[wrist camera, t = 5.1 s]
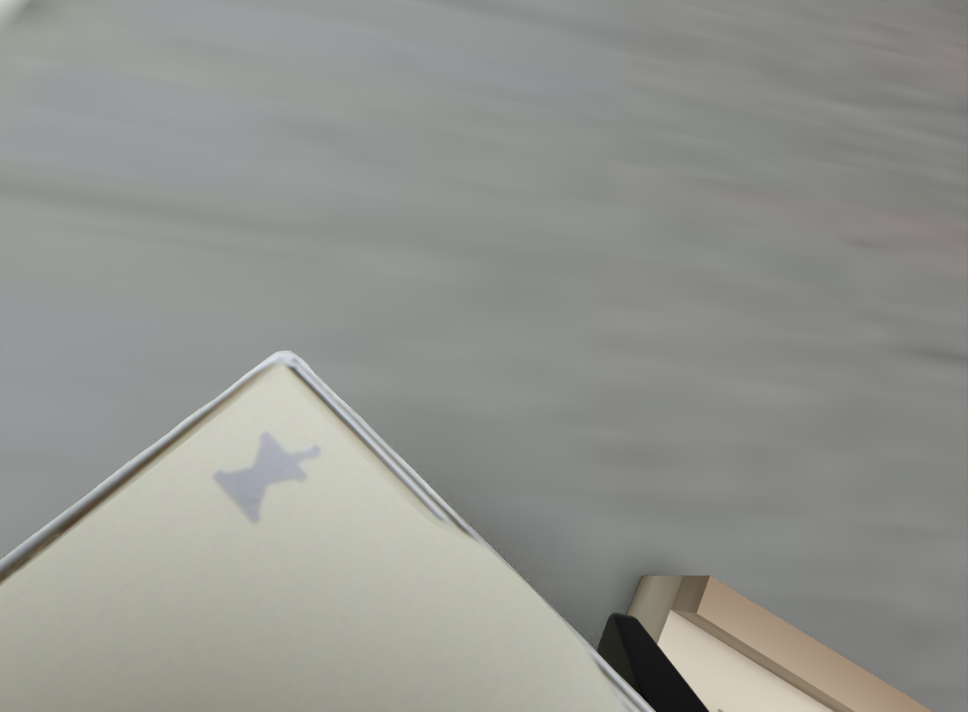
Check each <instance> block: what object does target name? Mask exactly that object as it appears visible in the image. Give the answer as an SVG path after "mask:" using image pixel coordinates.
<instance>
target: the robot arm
mask: <svg viewBox="0 0 968 712" xmlns="http://www.w3.org/2000/svg"><path fill="white" fill-rule="evenodd" d="M597 653H598V654H599V655H600V656H601V657H602V658H603V659H604V660H605V661H606V662H607V663H608V664H609V665H610V666H611V667H612V668H613V669H614V670H615V671H616V672H617V673H618V674H619V675H620V676H621V677H622V678H623V679H624V680H625V681H626V682H627V683H628V684H629V685H630V686H631V687H632V688H633V689H634V690H635V691H636V692H637V693H638V694H639V695H640V696H641V697H642V698H643V699H644V700H645V701H646V702H647V703H648V704H649V705H650V706H651V707H652V708H653V709H654V710H655V711H656V712H710V711H709V710H708V709H707V708H706V706H705V705H704V704H703V702H702V701H701V700H700V699H699V697H698V696H697V695H696V693H695V692H694V691H693V690H692V688H691V687H690V686H689V684H688V683H687V682H686V681H685V679H684V678H683V677H682V675H681V674H680V673H679V672H678V670H677V669H676V668H675V666H674V665H673V664H672V663H671V661H670V660H669V659H668V658H667V656H666V655H665V654H664V652H663V651H662V650H661V649H660V647H659V646H658V645H657V643H656V642H655V641H654V640H653V638H652V637H651V636H650V634H649V633H648V632H647V631H646V629H645V628H644V627H643V625H642V624H641V623H640V622H639V620H638V619H637V618H635V617H634V616H631V615H626V614H620V613H612V614H611V615H610V616H609V618H608V621H607V624H606V626H605V629H604V632H603V634H602V637H601V640H600V643H599V646H598V650H597Z"/></svg>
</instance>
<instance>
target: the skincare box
mask: <svg viewBox="0 0 968 712" xmlns="http://www.w3.org/2000/svg"><path fill="white" fill-rule="evenodd" d="M0 712H656V711H655V710H654V709H653V708H652V707H651V706H650V705H649V704H648V703H647V702H646V701H645V700H644V699H643V698H642V697H641V696H640V695H639V694H638V693H637V692H636V691H635V690H634V689H633V688H632V687H631V686H630V685H629V684H628V683H627V682H626V681H625V680H624V679H623V678H622V677H621V676H620V675H619V674H618V673H617V672H616V671H615V670H614V669H613V668H612V667H611V666H610V665H609V664H608V663H607V662H606V661H605V660H604V659H603V658H602V657H601V656H600V655H599V654H598V653H597V652H596V651H595V650H594V649H593V647H592V646H591V645H590V644H589V643H588V642H587V641H586V640H585V639H584V638H583V637H582V636H581V635H580V634H579V633H578V632H577V631H576V630H575V629H574V628H573V627H572V626H571V625H570V624H569V623H568V622H567V621H566V620H565V619H564V618H563V617H562V616H561V615H560V614H559V613H558V612H557V611H556V610H555V609H554V608H553V607H552V606H551V605H550V604H549V603H548V602H547V601H546V600H545V599H544V598H543V597H542V596H541V595H540V594H539V593H538V592H537V591H536V590H535V589H534V588H533V587H532V586H531V585H530V584H529V583H528V582H526V581H525V580H524V579H523V578H522V577H521V576H520V575H519V574H518V573H517V572H516V571H515V570H514V569H513V568H512V567H511V566H510V565H509V564H508V563H507V562H506V561H505V560H504V559H503V558H502V557H501V556H500V555H499V554H498V553H497V552H496V551H495V550H494V549H493V548H492V547H491V546H490V545H489V544H488V543H487V542H486V541H485V540H484V539H483V538H482V537H481V536H480V535H479V534H478V533H477V532H476V531H475V530H474V529H473V528H472V527H471V526H470V525H469V524H468V523H467V522H466V521H465V520H464V519H463V518H462V517H461V516H460V515H459V514H458V513H457V512H456V511H454V510H453V509H452V508H451V507H450V506H449V505H448V504H447V503H446V502H445V501H444V500H443V499H442V498H441V497H440V496H439V495H438V494H437V493H436V492H435V491H434V490H433V489H432V488H431V487H430V486H429V485H428V484H427V483H426V482H425V481H424V480H423V479H422V478H421V477H420V476H419V475H418V474H417V473H416V472H415V471H414V470H413V469H412V468H411V467H410V466H409V465H408V464H407V463H406V462H405V461H404V460H403V459H402V458H401V457H400V456H399V455H398V454H397V453H396V452H395V451H394V450H393V449H392V448H391V447H390V446H389V445H388V444H387V443H386V442H385V441H384V440H383V439H382V438H381V437H380V436H379V435H378V434H377V433H376V432H375V431H374V430H373V429H372V428H371V427H370V426H369V425H368V424H367V423H366V422H365V421H364V420H363V419H362V418H361V417H360V416H359V415H358V414H357V413H356V412H355V411H354V410H353V409H352V408H351V407H349V406H348V405H347V404H346V403H345V402H344V401H343V400H342V399H341V398H339V397H338V396H337V395H336V394H335V393H334V391H333V390H332V389H331V388H330V387H329V386H328V385H327V384H326V383H325V382H324V381H323V380H322V379H321V378H320V377H319V376H318V375H317V374H316V373H315V372H314V371H313V370H312V369H311V367H310V366H309V365H308V364H307V363H306V362H305V361H304V360H303V359H301V358H300V357H299V356H297V355H296V354H294V353H293V352H292V351H290V350H289V351H278V352H276V353H274V354H273V355H271V356H269V357H268V358H267V359H265V360H264V361H263V362H262V363H260V364H259V365H258V366H256V367H255V368H254V369H252V370H251V371H249V372H248V373H247V374H245V375H244V376H243V377H242V378H240V379H239V380H238V381H237V382H236V383H235V384H233V385H232V386H231V387H230V388H228V389H227V390H226V391H224V392H223V393H222V394H220V395H219V396H218V397H216V398H215V399H213V400H212V401H210V402H209V403H207V404H206V405H204V406H203V407H201V408H200V409H199V410H197V411H196V412H194V413H193V414H192V415H190V416H189V417H188V418H186V419H185V420H183V421H182V422H181V423H180V424H179V425H177V426H176V427H175V428H174V429H173V430H171V431H170V432H169V433H168V434H166V435H165V436H164V437H162V438H161V439H160V440H159V441H157V442H156V443H154V444H153V445H151V446H150V447H149V448H147V449H146V450H144V451H143V452H142V453H140V454H139V455H137V456H136V457H135V458H133V459H132V460H130V461H129V462H128V463H126V464H125V465H124V466H122V467H121V468H120V469H118V470H117V471H116V472H115V473H113V474H112V475H111V476H110V477H108V478H107V479H106V480H105V481H103V482H102V483H101V484H99V485H98V486H97V487H96V488H94V489H93V490H92V491H91V492H89V493H88V494H87V495H86V496H84V497H83V498H81V499H80V500H79V501H77V502H76V503H75V504H73V505H72V506H70V507H69V508H68V509H66V510H65V511H64V512H62V513H61V514H60V515H59V516H58V517H56V518H55V519H54V520H52V521H51V522H50V523H48V524H47V525H46V526H44V527H43V528H41V529H40V530H39V531H37V532H36V533H34V534H33V535H32V536H30V537H29V538H28V539H26V540H25V541H24V542H23V543H21V544H20V545H19V546H17V547H16V548H15V549H14V550H12V551H11V552H10V553H9V554H7V555H6V556H5V557H3V558H2V559H1V560H0Z"/></svg>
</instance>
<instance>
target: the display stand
mask: <svg viewBox="0 0 968 712" xmlns="http://www.w3.org/2000/svg"><path fill="white" fill-rule="evenodd" d="M627 615H631V616H634V617H635V618H637V619H638V620H639V622H640V623H641V624H642V625H643V627H644V628H645V629H646V631H647V632H648V633H649V634H650V636H651V637H652V638H653V640H654V641H655V642H656V643H657V645H658V646H659V647H660V649H661V650H662V651H663V652H664V654H665V655H666V656H667V658H668V659H669V660H670V661H671V663H672V664H673V665H674V666H675V668H676V669H677V670H678V672H679V673H680V674H681V675H682V677H683V678H684V679H685V681H686V682H687V683H688V684H689V686H690V687H691V688H692V690H693V691H694V692H695V693H696V695H697V696H698V697H699V699H700V700H701V701H702V702H703V704H704V705H705V706H706V708H707V709H708V710H709V711H710V712H933V711H931V710H930V709H928V708H927V707H925V706H923V705H922V704H920V703H918V702H917V701H915V700H913V699H912V698H910V697H908V696H907V695H905V694H904V693H902V692H900V691H899V690H897V689H895V688H894V687H892V686H890V685H889V684H887V683H885V682H884V681H882V680H881V679H879V678H877V677H876V676H874V675H872V674H871V673H869V672H867V671H866V670H864V669H862V668H861V667H859V666H858V665H856V664H854V663H853V662H851V661H849V660H848V659H846V658H844V657H843V656H841V655H839V654H838V653H836V652H835V651H833V650H831V649H830V648H828V647H826V646H825V645H823V644H821V643H820V642H818V641H817V640H815V639H813V638H812V637H810V636H808V635H807V634H805V633H803V632H802V631H800V630H798V629H797V628H795V627H794V626H792V625H790V624H789V623H787V622H785V621H784V620H782V619H780V618H779V617H777V616H775V615H774V614H772V613H771V612H769V611H767V610H766V609H764V608H762V607H761V606H759V605H757V604H756V603H754V602H752V601H751V600H749V599H748V598H746V597H744V596H743V595H741V594H739V593H738V592H736V591H734V590H733V589H731V588H730V587H728V586H726V585H725V584H723V583H721V582H720V581H718V580H716V579H715V578H713V577H711V576H642V579H641V581H640V584H639V586H638V589H637V591H636V593H635V596H634V598H633V601H632V603H631V606H630V608H629V610H628V613H627Z"/></svg>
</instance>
